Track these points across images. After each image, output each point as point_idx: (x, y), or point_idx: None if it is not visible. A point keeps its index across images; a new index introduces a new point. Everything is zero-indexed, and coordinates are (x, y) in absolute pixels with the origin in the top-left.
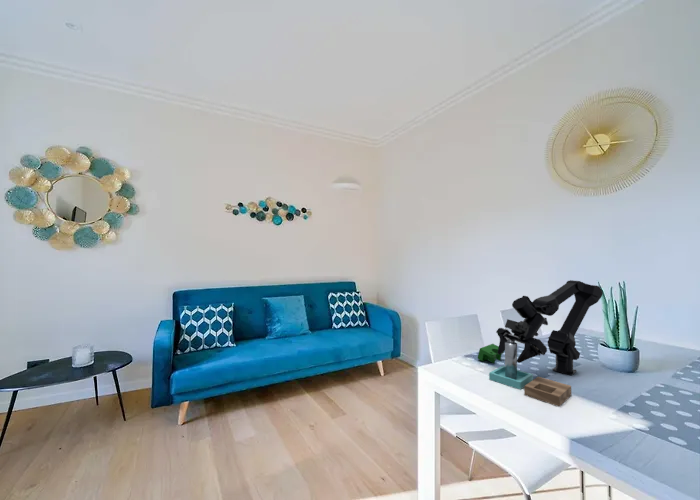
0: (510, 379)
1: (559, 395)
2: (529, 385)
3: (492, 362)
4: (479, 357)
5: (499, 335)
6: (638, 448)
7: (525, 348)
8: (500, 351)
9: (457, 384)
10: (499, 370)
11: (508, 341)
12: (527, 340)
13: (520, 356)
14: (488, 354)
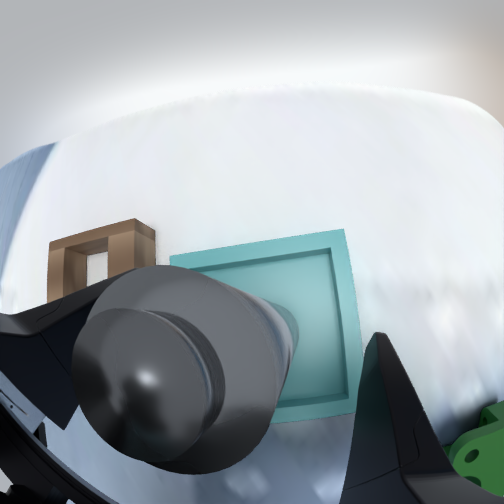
0: (217, 249)
1: (49, 254)
2: (123, 243)
3: (446, 446)
4: (500, 404)
5: (491, 498)
6: (2, 217)
7: (22, 326)
8: (368, 365)
9: (357, 95)
10: (342, 334)
11: (154, 313)
12: (17, 473)
13: (99, 286)
14: (478, 433)
